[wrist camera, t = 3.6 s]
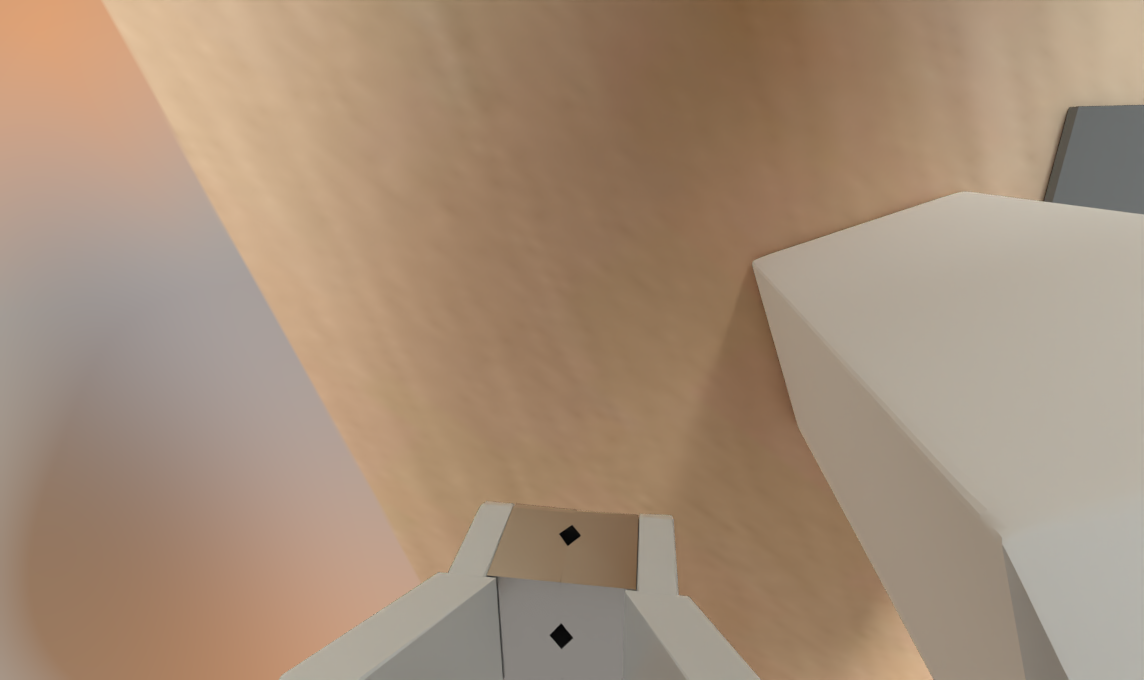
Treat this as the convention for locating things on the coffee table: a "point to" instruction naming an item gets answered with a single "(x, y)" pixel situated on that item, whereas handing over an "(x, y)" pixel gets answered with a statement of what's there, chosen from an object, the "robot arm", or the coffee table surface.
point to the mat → (1100, 159)
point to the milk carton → (982, 423)
